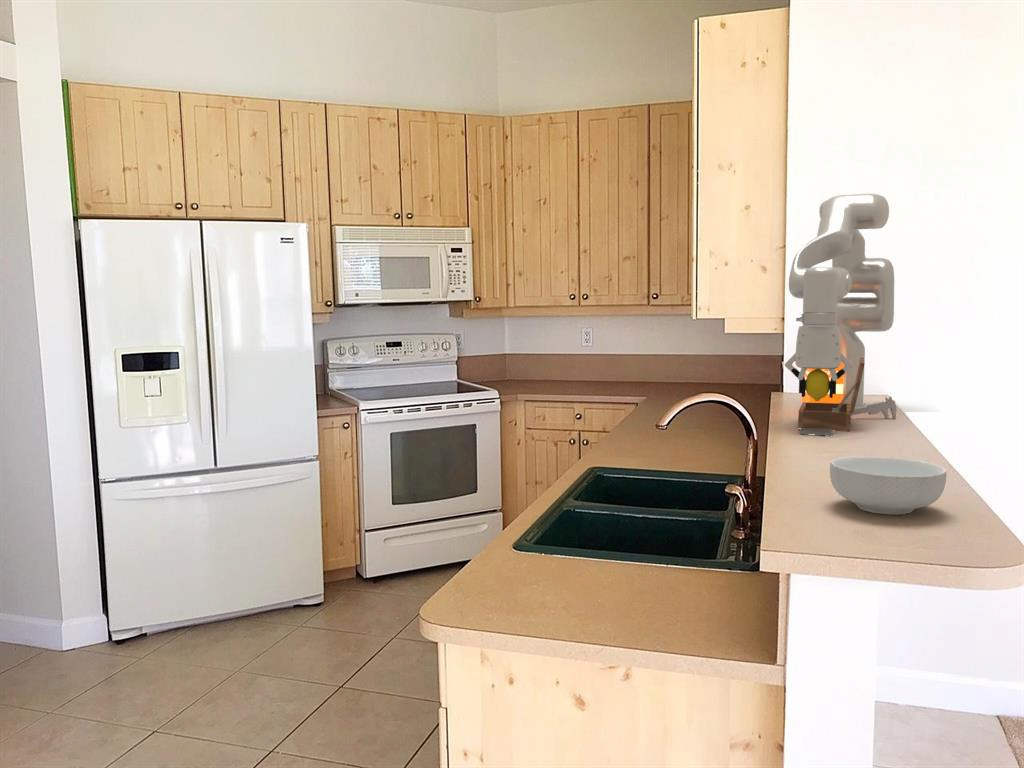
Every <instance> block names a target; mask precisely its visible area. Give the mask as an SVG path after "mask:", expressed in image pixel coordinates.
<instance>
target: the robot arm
mask: <svg viewBox="0 0 1024 768" xmlns="http://www.w3.org/2000/svg"><path fill="white" fill-rule="evenodd" d="M818 213H819V218H820V220H819V224H818V231H817V235H816V237H814V238H813V239H811V240H810V241H809V242H807V243H806V244H805V245H804V246H802V248H801V249H799V251H798V252H797V253H796V254H795V256H794V257H793V260H792V264H791V268H790V272H789V277H788V290H789V292H790V294H791V296H793V297H794V298H796V299H802V314H799V315H796V318H795V321H796V322H801V323H802V324H801V325H800V326H798V330H797V334H796V346H795V353H794V354H793V355H792V356H791V357H790V358H789V359H788V360H787V361H786V362H785V363H784V367H785V368H786V369H788V370H789V371H790V372H791V373H792V374H793V375H794V376H795V377H796V378H797V380H798V394H801V398H802V397H805V393H806V388H805V382H806V380H805V377H804V375H805V373H806V370H807V369H829V371H830V374H831V381H830V391H829V397H830V398H833V394H836V381H837V380H838V379H839V378H840V377H841V376H842V375H843V398H844V397H845V395H846V394H847V392H848V391H849V389H850V388H851V386H852V385H853V383H854V382H855V381H856V376H857V372H858V367H859V363H860V358H864V362H865V361H866V347H865V345H864V343H863V341H862V340H861V338H860V337H859V336H858V335H857V334H856V333H857V332H858V333H859V332H872V333H873V332H875V333H876V332H877V333H878V332H879V333H880V332H887V331H889V330H890V329H891V328H892V327H893V324H894V320H895V319H894V318H895V270H894V266H893V264H892V262H891V261H890V260H889V259H887V258H883V257H870V258H869V257H868V258H867V257H866V241H865V238H864V236H863V234H862V233H861V231H859V230H877V229H879V230H880V229H883V228H884V227H885V226H886V224H887V223H888V220H889V217H890V207H889V203H888V201H887V198H886V197H884V196H883V195H880V194H878V193H859V194H840V195H839V194H838V195H835V196H832V197H829V198H828V199H827V200H824V201H822V203H821V204H820V206H819V211H818ZM830 260H831V261H832V262H831V267H827V266H826V267H822V266H821V267H814V266H816V265H819V264H822V263H824V262H828V261H830ZM848 294H874V295H875V296H876V297H873V296H872V297H869V296H868V297H865V296H863V297H861V296H860V297H859V296H855V297H854V296H853V297H850V296H847V295H848ZM841 352H842V353H841ZM841 362H842V363H843V364H844V367H843V368H842V369H841V370H839V371H838V372H837V373H836V370H835V369H836V368H838V367H840V365H841ZM793 364H795V365H793ZM795 366H796V367H797V368H800V370H799V369H797V368H796V367H795ZM864 385H865V368H864V369H863V373H862V378H861V382H860V387H859V391H858V396H857V400H856V405H855V408H861V407H866V406H867V405H868V404H867V403H864V395H865V394H864V393H865V392H864V390H865V389H864V387H865V386H864ZM853 390H854V389H853ZM853 390H852V392H851V393H850V395H849V396H848V398H847V399H846V400H845V402H844V404H850V402H851V399H852V394H853Z"/></svg>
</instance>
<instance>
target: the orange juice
mask: <svg viewBox="0 0 1024 768" xmlns="http://www.w3.org/2000/svg"><path fill="white" fill-rule="evenodd" d="M841 353H842V352H841ZM843 367H844V364H843V363H842V362H841V365H840V367H838V368H836V369H835V370H836V373H837V372H838V371H839V370H841V369H842V368H843ZM813 370H815V369H807V370H806V373H805V375H804V377H805V380H806V378H807V376H808V374H809V373H810V372H811V371H813ZM820 370H823V371H824V372H825V373H826V374H827V375H828V377H829V381H831V374H830V371H829V369H820ZM829 391H830V389H829ZM842 399H843V375H842V376H841V377H840V378H839V379H838V380H837V381H836V394H833V398H830V397H829V392H828V394H827V395H826V396H825V397H824V398H822V399H820V400H819V401H815V400H814V399H813V398H811V397H810V396H809V395H808V394H807V392H806V393H805V397H802V396H801V403H802V402H815V403H840V402H841V401H842Z"/></svg>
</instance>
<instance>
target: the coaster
mask: <svg viewBox="0 0 1024 768" xmlns="http://www.w3.org/2000/svg"><path fill="white" fill-rule="evenodd" d="M800 434H815V435H814V436H819V435H829V436H828V437H832V436H833V435H832V434H833V431H832V429H819V428H801V429H800V432H799V435H800Z"/></svg>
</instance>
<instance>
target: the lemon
mask: <svg viewBox="0 0 1024 768" xmlns="http://www.w3.org/2000/svg"><path fill="white" fill-rule="evenodd" d="M805 388H806V392H807V394H808V395H809V396H810V397H811V398H813V399H814V400H815V401H819V400H820V399H822V398H824V397H825V396H826V395H827V394H828V392H829V389H830V381H829V377H828V375H827V374H826V373H825V372H824V371H823V370H820V369H815V370H813V371H811V372H810V373H809V374H808V376H807V378H806V382H805Z"/></svg>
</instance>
